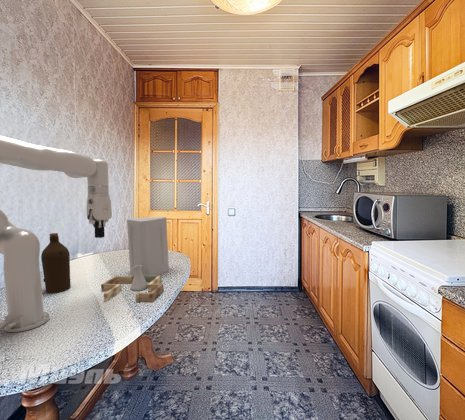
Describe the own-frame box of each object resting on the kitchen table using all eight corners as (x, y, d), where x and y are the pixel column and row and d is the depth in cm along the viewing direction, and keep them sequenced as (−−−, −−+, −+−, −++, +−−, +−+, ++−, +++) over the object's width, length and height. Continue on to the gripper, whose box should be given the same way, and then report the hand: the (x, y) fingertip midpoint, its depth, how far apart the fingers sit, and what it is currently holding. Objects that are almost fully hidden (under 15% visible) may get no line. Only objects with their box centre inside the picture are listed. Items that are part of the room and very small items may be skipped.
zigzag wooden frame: (151, 302, 110) (151, 294, 110) (87, 300, 114) (86, 293, 113) (172, 281, 133) (172, 275, 133) (117, 280, 137) (117, 274, 136)
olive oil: (77, 285, 132) (73, 231, 130) (61, 294, 122) (56, 235, 120) (55, 285, 133) (50, 231, 131) (38, 293, 123) (32, 236, 121)
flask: (141, 292, 122) (140, 269, 121) (126, 290, 124) (125, 267, 123) (151, 286, 128) (149, 264, 127) (137, 284, 131) (135, 263, 130)
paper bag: (125, 280, 137) (121, 222, 135) (132, 271, 152) (128, 218, 150) (166, 277, 140) (163, 220, 137) (169, 268, 154) (166, 216, 152)
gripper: (94, 191, 106) (96, 240, 107) (117, 191, 121) (118, 235, 122) (76, 191, 107) (78, 240, 108) (101, 191, 122) (102, 234, 123)
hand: (99, 237), depth 115 cm, fingers closed
